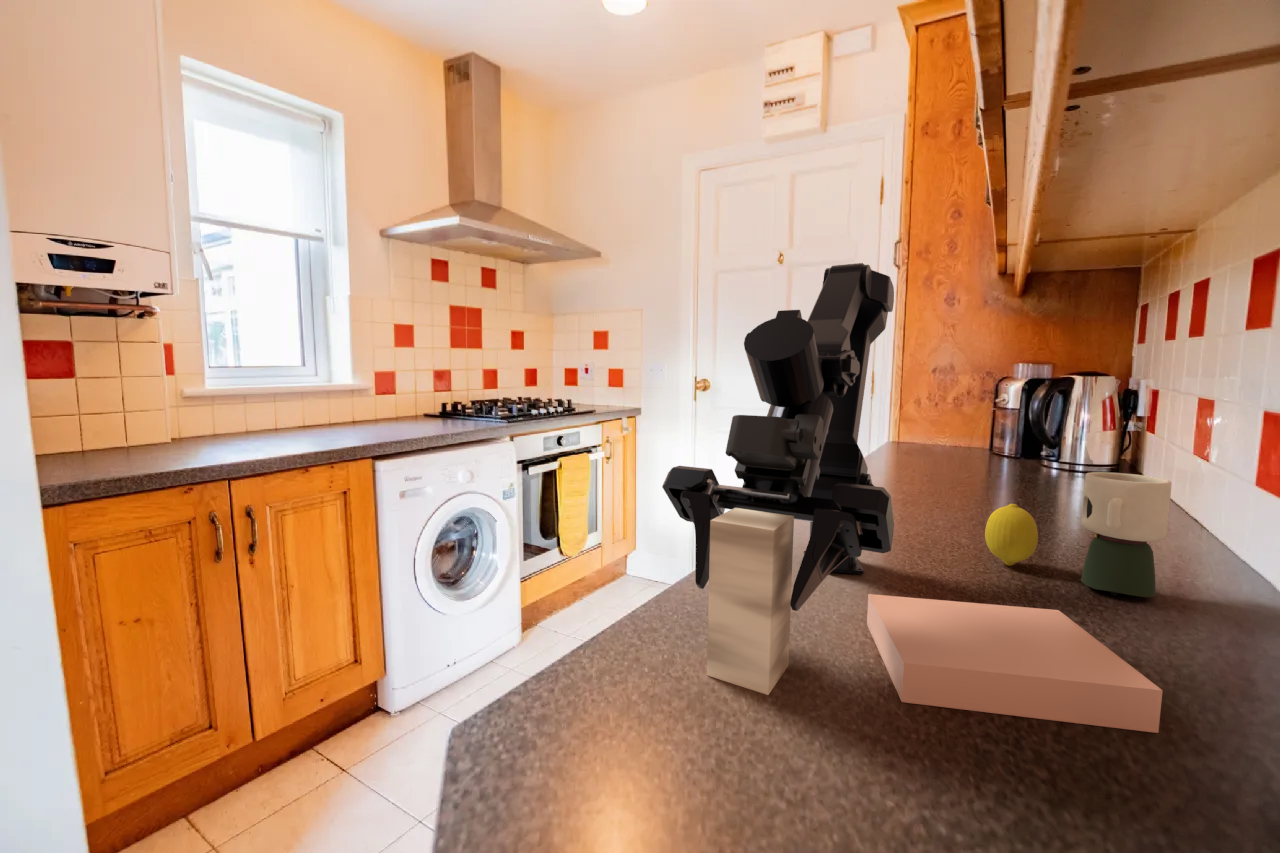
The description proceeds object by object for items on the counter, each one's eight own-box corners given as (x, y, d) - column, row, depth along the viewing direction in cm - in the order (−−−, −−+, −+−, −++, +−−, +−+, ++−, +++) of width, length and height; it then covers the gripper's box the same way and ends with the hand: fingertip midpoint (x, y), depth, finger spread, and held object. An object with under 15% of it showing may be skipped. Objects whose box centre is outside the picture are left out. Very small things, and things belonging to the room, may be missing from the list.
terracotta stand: (866, 624, 53) (868, 593, 53) (1055, 642, 50) (1058, 610, 49) (901, 702, 40) (903, 662, 40) (1158, 733, 37) (1162, 690, 37)
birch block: (731, 649, 48) (735, 507, 47) (788, 665, 45) (794, 515, 44) (706, 675, 44) (710, 520, 43) (768, 695, 41) (773, 530, 40)
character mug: (1089, 572, 68) (1098, 468, 67) (1168, 590, 62) (1180, 476, 61) (1063, 594, 61) (1072, 477, 60) (1149, 616, 56) (1162, 488, 54)
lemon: (973, 561, 72) (977, 500, 71) (1003, 556, 74) (1007, 497, 73) (1014, 575, 67) (1019, 510, 66) (1046, 570, 69) (1051, 507, 68)
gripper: (673, 378, 51) (602, 523, 42) (896, 381, 41) (861, 570, 32) (708, 453, 58) (653, 589, 50) (904, 471, 48) (877, 644, 40)
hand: (744, 596), depth 43 cm, fingers open, 7 cm apart
